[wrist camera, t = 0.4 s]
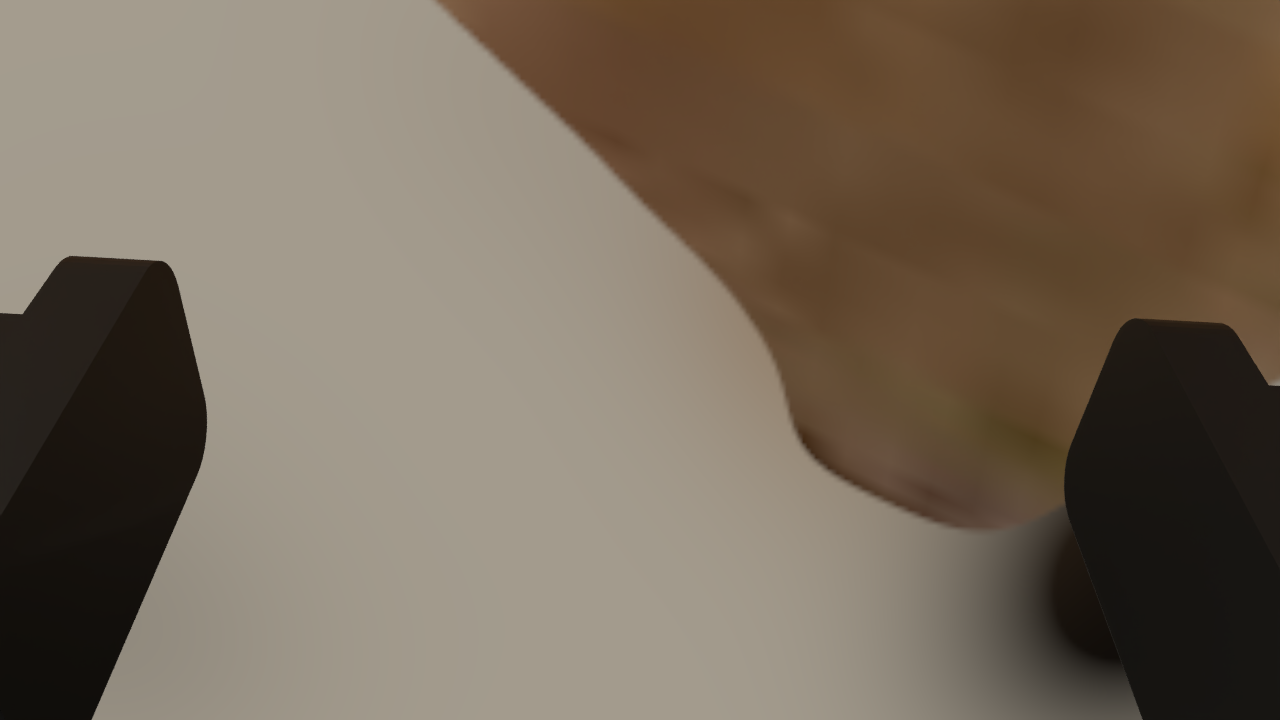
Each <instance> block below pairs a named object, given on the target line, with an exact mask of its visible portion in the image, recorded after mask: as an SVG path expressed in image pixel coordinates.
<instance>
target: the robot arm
mask: <svg viewBox="0 0 1280 720" xmlns="http://www.w3.org/2000/svg"><path fill="white" fill-rule="evenodd" d="M206 432H207V411H206V402H205V397H204V392H203V388H202V384H201V380H200V376H199V371H198V367H197V363H196V359H195V355H194V351H193V346H192V342H191V338H190V334H189V329H188V325H187V321H186V317H185V313H184V309H183V304H182V300H181V296H180V292H179V287H178V284H177V281H176V278H175V276H174V273H173V271H172V269H171V268H170V267H169V266H168V264H167V263H165V262H163V261H151V260H134V259H116V258H98V257H79V256H69V257H67V258H65V259H63V260H62V261H61V262H60V263H59V264H58V265H57V266H56V267H55V269H54V270H53V272H52V273H51V274H50V276H49V277H48V279H47V280H46V282H45V283H44V284H43V286H42V287H41V289H40V290H39V292H38V293H37V294H36V296H35V297H34V299H33V300H32V302H31V303H30V305H29V306H28V307H27V309H26V310H25V312H24V313H23V314H6V313H4V314H3V313H0V720H92V717H93V715H94V712H95V710H96V708H97V706H98V704H99V701H100V699H101V696H102V694H103V692H104V689H105V687H106V685H107V683H108V680H109V678H110V676H111V673H112V671H113V669H114V666H115V664H116V662H117V660H118V657H119V655H120V652H121V650H122V647H123V645H124V643H125V641H126V639H127V636H128V634H129V632H130V629H131V627H132V625H133V622H134V620H135V618H136V615H137V613H138V611H139V608H140V606H141V604H142V602H143V599H144V597H145V595H146V592H147V590H148V588H149V585H150V583H151V581H152V578H153V576H154V574H155V572H156V569H157V567H158V565H159V562H160V560H161V557H162V555H163V553H164V551H165V548H166V546H167V544H168V541H169V539H170V537H171V534H172V532H173V530H174V527H175V525H176V523H177V521H178V518H179V516H180V514H181V511H182V509H183V507H184V504H185V502H186V500H187V497H188V495H189V492H190V490H191V488H192V486H193V483H194V481H195V479H196V476H197V474H198V471H199V469H200V466H201V462H202V459H203V454H204V449H205V442H206ZM1064 492H1065V503H1066V509H1067V513H1068V517H1069V520H1070V523H1071V526H1072V529H1073V532H1074V534H1075V537H1076V539H1077V542H1078V545H1079V548H1080V551H1081V553H1082V556H1083V559H1084V561H1085V564H1086V567H1087V570H1088V572H1089V575H1090V578H1091V580H1092V583H1093V586H1094V588H1095V591H1096V594H1097V597H1098V599H1099V602H1100V605H1101V607H1102V610H1103V613H1104V616H1105V619H1106V621H1107V624H1108V627H1109V629H1110V632H1111V635H1112V638H1113V640H1114V643H1115V646H1116V648H1117V651H1118V654H1119V656H1120V659H1121V662H1122V665H1123V667H1124V670H1125V673H1126V676H1127V678H1128V681H1129V684H1130V686H1131V689H1132V692H1133V694H1134V697H1135V700H1136V703H1137V705H1138V707H1139V711H1140V714H1141V716H1142V719H1143V720H1280V386H1269V385H1268V384H1267V382H1266V380H1265V379H1264V377H1263V376H1262V374H1261V372H1260V371H1259V369H1258V368H1257V366H1256V364H1255V363H1254V361H1253V360H1252V358H1251V356H1250V355H1249V353H1248V352H1247V350H1246V348H1245V347H1244V345H1243V343H1242V342H1241V340H1240V339H1239V337H1238V336H1237V334H1236V333H1235V332H1234V330H1233V329H1231V328H1230V327H1229V326H1227V325H1225V324H1222V323H1208V322H1190V321H1172V320H1154V319H1137V318H1135V319H1131V320H1129V321H1128V322H1126V323H1125V324H1124V325H1123V326H1122V327H1121V328H1120V330H1119V331H1118V333H1117V335H1116V337H1115V339H1114V341H1113V343H1112V346H1111V348H1110V351H1109V353H1108V356H1107V358H1106V360H1105V363H1104V365H1103V368H1102V370H1101V373H1100V375H1099V378H1098V380H1097V382H1096V385H1095V387H1094V390H1093V392H1092V395H1091V397H1090V400H1089V402H1088V404H1087V407H1086V409H1085V412H1084V414H1083V417H1082V419H1081V422H1080V424H1079V426H1078V429H1077V431H1076V434H1075V436H1074V439H1073V441H1072V443H1071V446H1070V449H1069V452H1068V456H1067V461H1066V467H1065V477H1064Z"/></svg>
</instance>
